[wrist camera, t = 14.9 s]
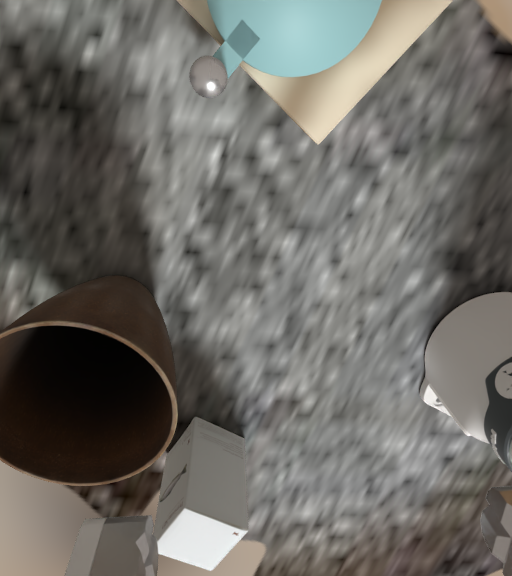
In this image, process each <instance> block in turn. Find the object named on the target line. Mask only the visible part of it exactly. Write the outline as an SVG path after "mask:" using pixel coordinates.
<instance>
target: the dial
mask: <svg viewBox="0 0 512 576" xmlns="http://www.w3.org/2000/svg"><path fill="white" fill-rule="evenodd" d="M381 2H382V0H207V3H208V7H209V11H210V13H211V16H212V19H213V22H214V24H215V26H216V28H217V30H218V32H219V34H220V35H221V37H222V38H223V40H224V43H223V44H222V45H221V46H220V48H219V49H218V50H217V52H216V53H215V54H214V55H213V56H203V57H200V58H199V59H197V60H196V61H195V62H194V63H193V65H192V67H191V69H190V82H191V85H192V87H193V89H194V90H195V91H196V92H197V93H198V94H199V95H201V96H203V97H206V98H213V97H216V96H218V95H220V94H221V93H222V92H223V91H224V89H225V87H226V85H227V81H228V78H229V76H230V75H231V74H232V73H233V72H234V70H235V69H236V68H237V67H238V65H239V64H240V63H241V62H242V61H244V62H245V63H247V64H248V65H250V66H251V67H253V68H255V69H257V70H259V71H261V72H264V73H267V74H270V75H274V76H280V77H300V76H307V75H311V74H315V73H318V72H321V71H323V70H326V69H328V68H330V67H331V66H333V65H335V64H337V63H338V62H340V61H341V60H342V59H343V58H345V57H346V56H347V55H348V54H349V53H350V52H352V51H353V50H354V49H355V48H356V47H357V45H358V44H359V43H360V42H361V40H362V39H363V38H364V37H365V35H366V33H367V32H368V30H369V29H370V27H371V25H372V23H373V21H374V19H375V17H376V15H377V13H378V10H379V7H380V4H381Z"/></svg>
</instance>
